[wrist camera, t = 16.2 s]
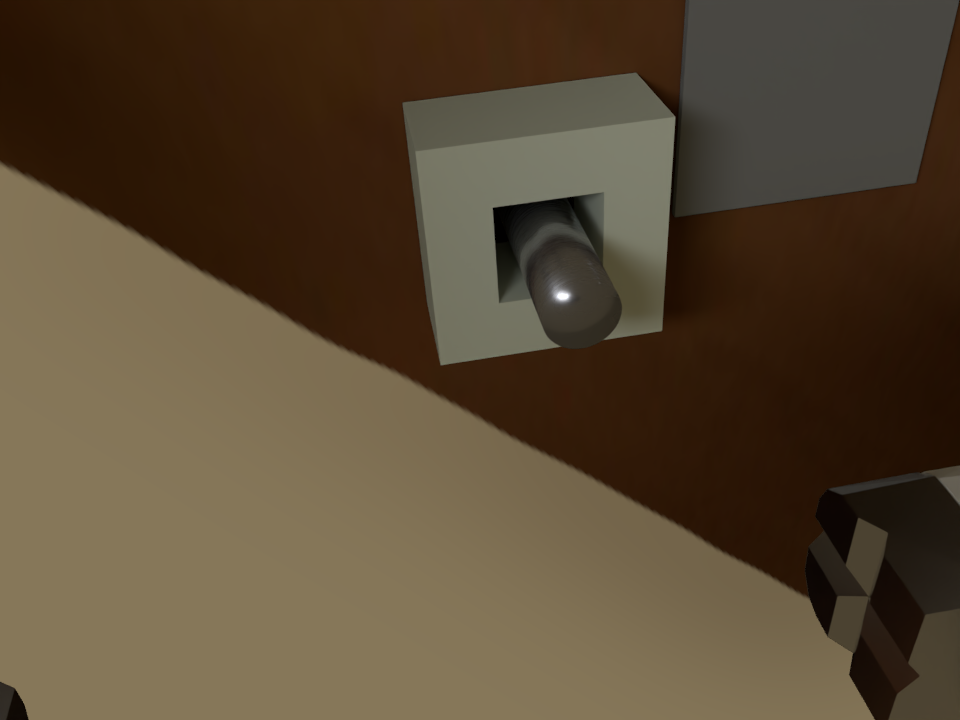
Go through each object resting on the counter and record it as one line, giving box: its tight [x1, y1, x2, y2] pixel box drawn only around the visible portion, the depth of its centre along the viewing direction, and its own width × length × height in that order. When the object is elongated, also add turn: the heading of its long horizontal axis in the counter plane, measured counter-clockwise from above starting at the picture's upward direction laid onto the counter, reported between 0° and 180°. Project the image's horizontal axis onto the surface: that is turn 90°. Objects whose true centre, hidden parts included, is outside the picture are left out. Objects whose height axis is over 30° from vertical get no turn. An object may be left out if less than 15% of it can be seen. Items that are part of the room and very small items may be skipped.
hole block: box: [402, 73, 675, 365], centre depth 39 cm, size 10×10×5 cm
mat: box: [672, 0, 959, 217], centre depth 41 cm, size 12×10×1 cm
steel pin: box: [496, 197, 622, 349], centre depth 37 cm, size 3×3×10 cm
